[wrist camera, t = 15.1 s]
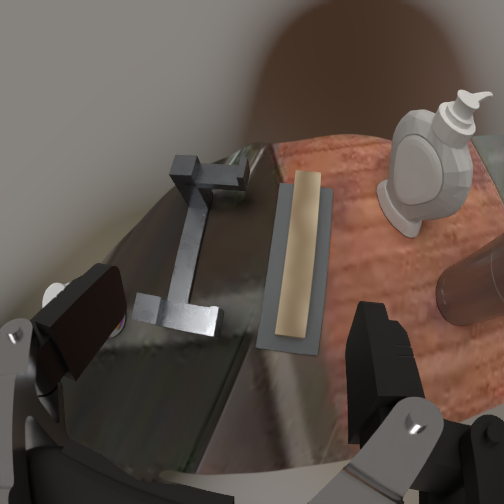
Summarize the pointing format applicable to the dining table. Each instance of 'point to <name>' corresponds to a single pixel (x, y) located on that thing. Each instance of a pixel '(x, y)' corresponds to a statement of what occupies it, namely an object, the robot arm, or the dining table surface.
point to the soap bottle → (430, 164)
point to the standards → (191, 247)
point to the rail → (299, 256)
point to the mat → (276, 270)
